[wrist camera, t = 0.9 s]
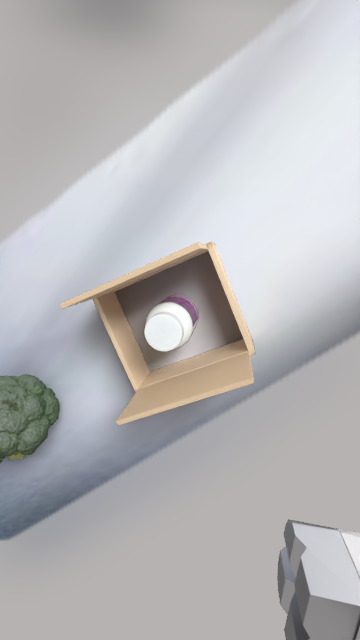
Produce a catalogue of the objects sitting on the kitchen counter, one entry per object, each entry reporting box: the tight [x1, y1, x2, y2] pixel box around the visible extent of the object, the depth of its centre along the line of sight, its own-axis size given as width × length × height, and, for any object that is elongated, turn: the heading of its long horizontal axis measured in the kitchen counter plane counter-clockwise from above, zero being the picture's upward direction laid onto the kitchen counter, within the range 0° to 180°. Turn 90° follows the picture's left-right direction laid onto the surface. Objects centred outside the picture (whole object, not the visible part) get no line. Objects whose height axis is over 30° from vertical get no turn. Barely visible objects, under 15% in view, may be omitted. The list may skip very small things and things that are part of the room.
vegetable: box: [0, 375, 59, 463], centre depth 43 cm, size 12×13×15 cm
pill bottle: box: [144, 295, 199, 351], centre depth 36 cm, size 5×5×10 cm
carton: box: [60, 242, 255, 425], centre depth 34 cm, size 15×13×13 cm
